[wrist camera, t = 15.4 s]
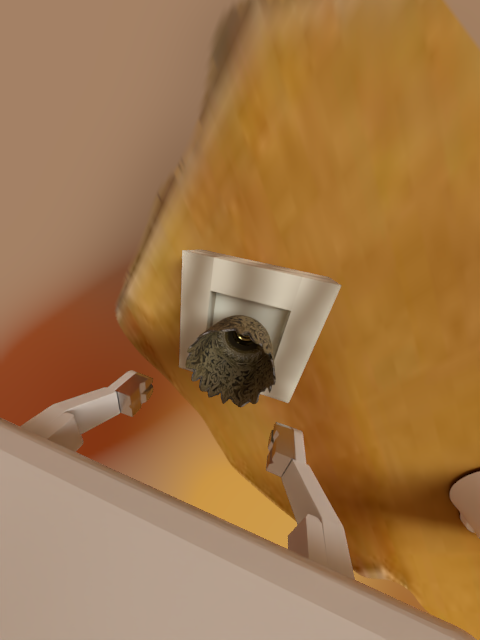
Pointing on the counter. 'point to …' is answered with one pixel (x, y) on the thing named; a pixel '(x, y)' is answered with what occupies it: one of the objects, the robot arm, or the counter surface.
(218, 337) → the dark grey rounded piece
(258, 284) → the white recessed square tray
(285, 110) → the counter surface
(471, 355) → the counter surface
